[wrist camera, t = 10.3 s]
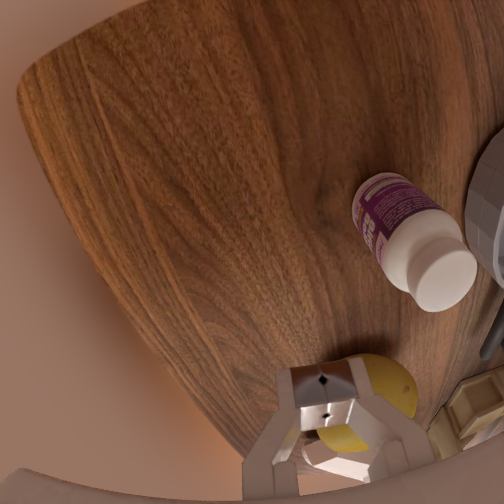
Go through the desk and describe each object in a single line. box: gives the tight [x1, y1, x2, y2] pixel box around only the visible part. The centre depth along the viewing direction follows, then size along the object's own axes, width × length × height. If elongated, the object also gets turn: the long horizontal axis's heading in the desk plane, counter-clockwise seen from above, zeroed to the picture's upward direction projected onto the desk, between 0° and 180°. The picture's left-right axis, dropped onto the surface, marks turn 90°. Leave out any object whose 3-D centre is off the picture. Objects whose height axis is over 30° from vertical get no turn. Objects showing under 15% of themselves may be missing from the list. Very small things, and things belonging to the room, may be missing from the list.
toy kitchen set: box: [427, 365, 504, 462], centre depth 35 cm, size 18×17×15 cm
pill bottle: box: [352, 173, 477, 312], centre depth 18 cm, size 5×5×10 cm
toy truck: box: [301, 440, 377, 484], centre depth 40 cm, size 25×7×9 cm, turn 43°
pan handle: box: [480, 299, 504, 361], centre depth 25 cm, size 11×2×2 cm, turn 6°
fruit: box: [316, 353, 418, 453], centre depth 28 cm, size 10×11×10 cm
